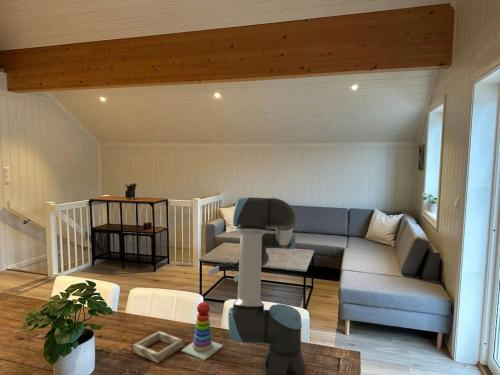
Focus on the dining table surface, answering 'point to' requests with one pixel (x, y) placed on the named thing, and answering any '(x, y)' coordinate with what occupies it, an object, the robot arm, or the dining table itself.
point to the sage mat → (202, 354)
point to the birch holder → (158, 356)
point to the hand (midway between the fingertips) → (221, 275)
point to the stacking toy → (202, 329)
